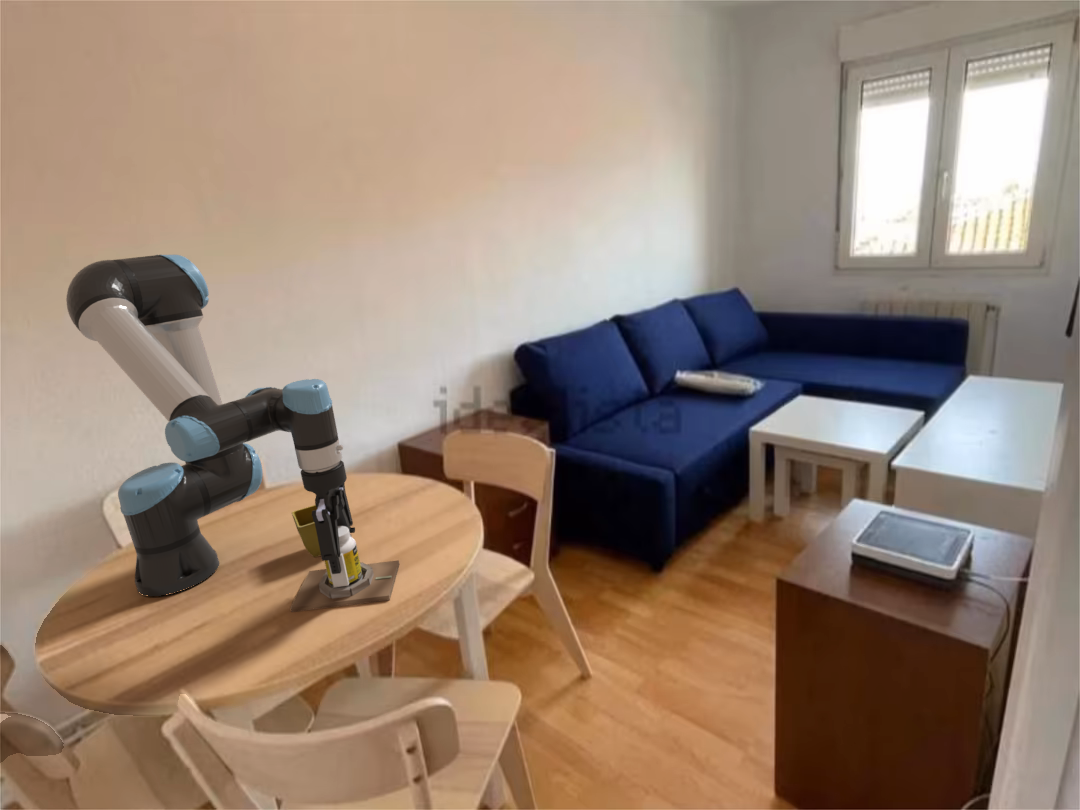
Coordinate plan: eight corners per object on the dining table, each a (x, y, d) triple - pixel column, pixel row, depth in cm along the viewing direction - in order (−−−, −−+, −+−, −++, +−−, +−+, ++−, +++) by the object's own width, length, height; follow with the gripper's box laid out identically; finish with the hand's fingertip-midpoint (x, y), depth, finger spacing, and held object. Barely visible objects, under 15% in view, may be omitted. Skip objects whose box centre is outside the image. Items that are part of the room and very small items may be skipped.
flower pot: (349, 551, 128) (341, 513, 126) (307, 565, 124) (298, 527, 122) (339, 535, 136) (331, 499, 133) (299, 548, 132) (290, 511, 129)
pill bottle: (366, 584, 114) (356, 533, 110) (333, 596, 111) (321, 544, 108) (359, 569, 119) (349, 520, 116) (327, 580, 116) (316, 530, 113)
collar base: (291, 612, 109) (288, 601, 108) (310, 575, 120) (308, 564, 120) (389, 600, 110) (387, 588, 109) (399, 564, 121) (397, 554, 121)
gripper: (328, 484, 99) (354, 602, 105) (354, 443, 117) (374, 546, 124) (282, 489, 98) (311, 608, 105) (315, 447, 116) (338, 551, 123)
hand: (345, 574), depth 114 cm, fingers closed on pill bottle, 6 cm apart
